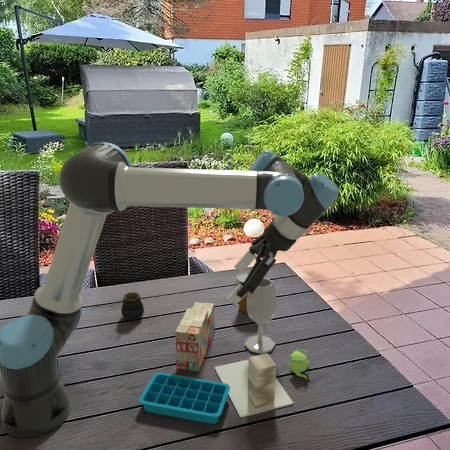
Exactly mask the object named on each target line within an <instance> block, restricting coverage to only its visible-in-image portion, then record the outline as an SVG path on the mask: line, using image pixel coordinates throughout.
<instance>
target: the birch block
mask: <svg viewBox="0 0 450 450" xmlns="http://www.w3.org/2000/svg"><path fill="white" fill-rule="evenodd" d="M268 353H269V352H268ZM268 353H265V354H258V355H254V356H249V357H248V360H249V364H248V396H249V398H250V399H251V401H252V403H253V404H254V406H255V408H257V407H261V406H265V405H269V404H273V403H274V399H275V380H276V379H277V364H276V363H275V361H274V360H273V359H272V357H271V356H270V354H268Z"/></svg>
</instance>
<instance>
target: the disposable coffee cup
mask: <svg viewBox="0 0 450 450" xmlns="http://www.w3.org/2000/svg"><path fill="white" fill-rule="evenodd" d="M249 273H250V271H243V272H239V273H238V274H236V278H235V279H234V282H235V284H236V288H237V287H238V286H239V285H240V282H242V281H243V282H244V281H245V279H246V278H247V276H248V274H249ZM247 296H248V293H247V294H246V295H245V296H244V297H243V298H242V299H241V300H240V302H239V303H238V308H239V310H240V312H242V313H243V314H248V312H247V308H246V307H247Z"/></svg>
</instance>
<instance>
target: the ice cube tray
mask: <svg viewBox="0 0 450 450" xmlns="http://www.w3.org/2000/svg"><path fill="white" fill-rule="evenodd" d="M229 390H230V386H229V385H228V384H226V383H222V382H218V381H213V380H208V379H201V378H196V377H191V376H190V377H189V376H184V375H178V374H171V373H166V372H161V371H159V372H155V373H154V374H153V375H152V376H151V379H150V380H149V382H148V383H147V385H146V386H145V388H144V389H143V392H142V394H141V395H140V396H139V398H138V401H139V404H141V405H143V409H144V411H145V412H147V413H153V414H157V415H161V416H162V415H163V416H168V417H174V418H180V419H185V420H188V421H189V420H190V421H195V422H200V423H205V424H212V425H214V424H217V423H218V421H219V419H220V416H221V415H222V413H223V409H224V407H225V404H226V401H227V399H228V397H229V395H228V393H229Z"/></svg>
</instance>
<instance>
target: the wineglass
mask: <svg viewBox="0 0 450 450" xmlns="http://www.w3.org/2000/svg"><path fill="white" fill-rule="evenodd" d="M275 287H276V286H275V284H274V281H272V280H271V279H270V278H267V277H264V278H263V279H262V281H261V282H260V284H259V285H258V287H257V288H256V290H255V291H254V293H253V294H251V293H250V292H248V296H247V307H246V308H247V312H248V313H247V314H248V315H247V316H248V318H250V319H251V320H252V321H253V322H254V323H256V325H257V334H256V335H252V336H249V337H248V338H247V340H246V341H245V343H244V347H245V348H246V349H248V350H249V352H250V353H254V354H258V355H262V354H267V353H271V352H272V351H273V349H274V347H275V346H276V343H275V342H274V341H273V339H272V338H270V337H269V336H265V335H263V334H264V325H265V324H267V323H269V322H271V321H272V319H273V318H274V314H275V312H276V310H277V301H278V299H277V292H276V288H275Z"/></svg>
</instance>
